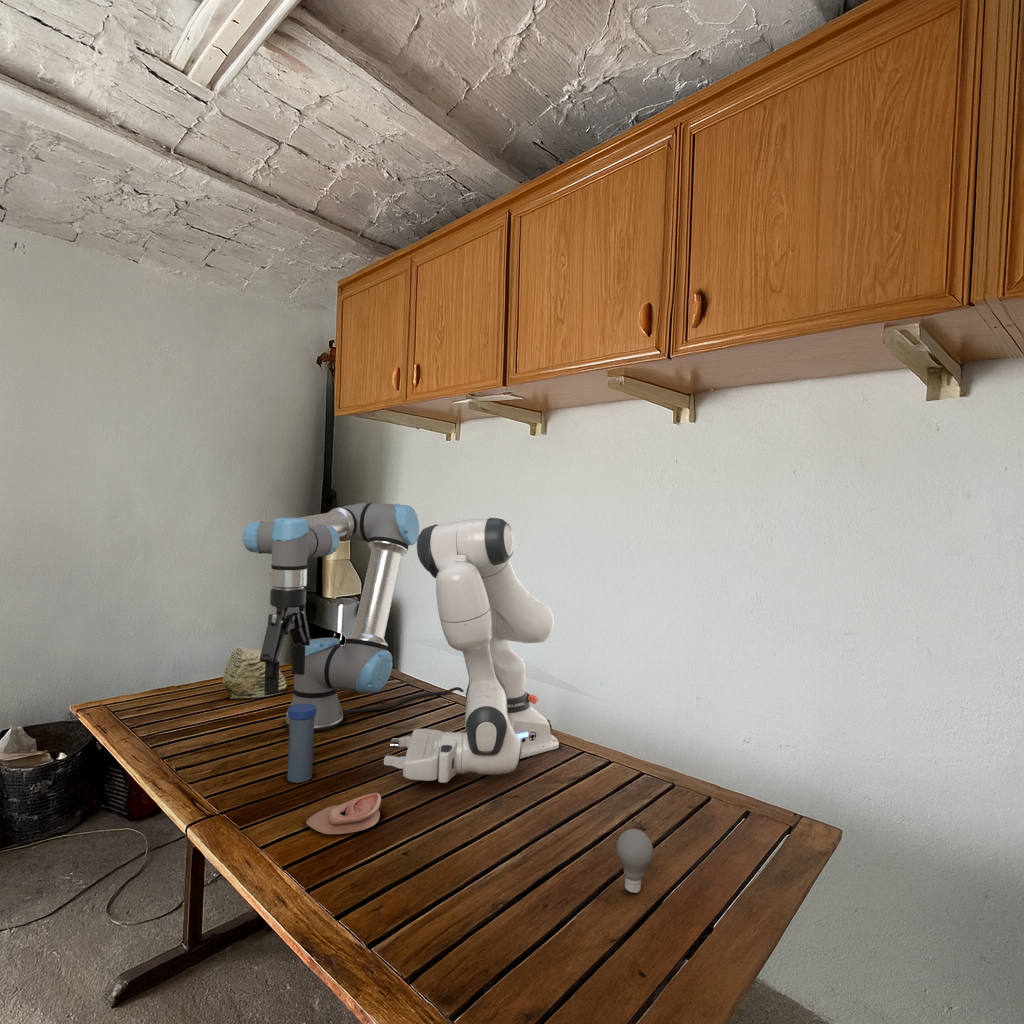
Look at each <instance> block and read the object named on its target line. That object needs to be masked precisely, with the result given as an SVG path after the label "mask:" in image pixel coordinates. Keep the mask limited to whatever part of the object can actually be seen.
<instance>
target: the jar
mask: <svg viewBox="0 0 1024 1024" xmlns="http://www.w3.org/2000/svg"><path fill="white" fill-rule="evenodd" d="M314 718H315V716H314V717H312V718H309V719H304V720H295V719H291V718H289V728H288V745H287V746H288V747H287V771H286V772H287V773H286V779H287V781H288V782H290V783H296V784H297V783H298V784H299V783H305V782H308V781H310V780H311V779H312V778H313V768H314V743H315V742H314V741H315V740H314V739H315V732H314Z"/></svg>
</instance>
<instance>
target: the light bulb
mask: <svg viewBox="0 0 1024 1024" xmlns="http://www.w3.org/2000/svg"><path fill="white" fill-rule="evenodd" d="M615 849H616V854H617V857H618V859H619V861H620V863H621V865H622V867H623V873H624V874H623V875H624V876H625V878H624V888H625V890H627V891H628V892H630V893H634V894H635V893H639V892H640V891H641V889H642V887H641V886H642V879H643V877H644V875H645V871H646V868H647V867H648V866H649V864H650V863H651V861H652V859H653V855H654V847H653V843H652V841H651V838H649V836H648V835H647V834H646V833H645V832H643V831H642V830H641V829H636V828H629V829H627V830H625V831H623V832H622V833H621V834H620V835H619V837H618V839H617V841H616V847H615Z"/></svg>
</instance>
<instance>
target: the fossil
mask: <svg viewBox="0 0 1024 1024" xmlns="http://www.w3.org/2000/svg"><path fill="white" fill-rule="evenodd" d="M261 651H262V647H261V648H260V647H258V648H251V647H247V646H246V647H245V646H238V647H237V648H236V649H235V650H233V651H232V653H231V656H230V657H229V659H228V660H227V663H226V666H225V668H224V671H223V675H222V676H223V677H222V685H223V687H224V688H225V690H226V691H228V693H229V698H230V699H250V698H264V697H271V696H275V695H281V694H284V693H285V691H286V689H287V687H288V686H287V680H286V678H285V676H284V674H283V673H282V672H281V669H279V689H278V693H268V692H264V690H265V662H261V661H260V655H261Z"/></svg>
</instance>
